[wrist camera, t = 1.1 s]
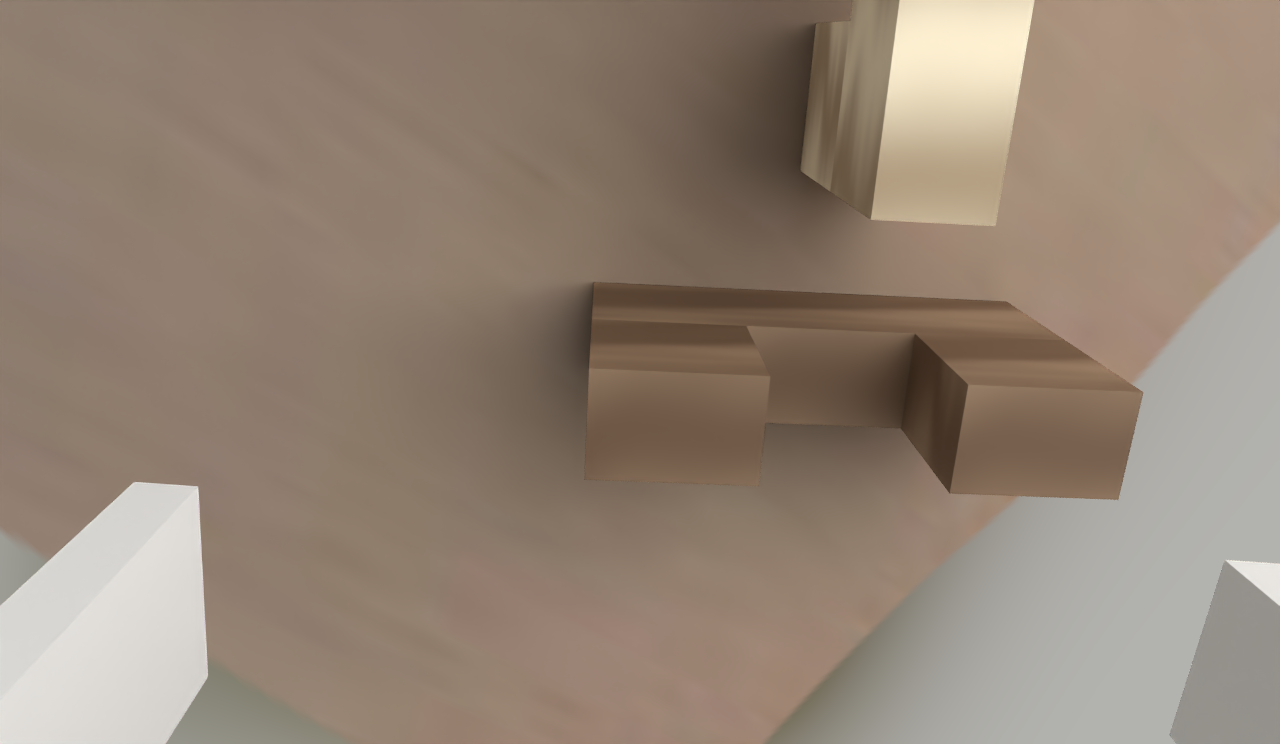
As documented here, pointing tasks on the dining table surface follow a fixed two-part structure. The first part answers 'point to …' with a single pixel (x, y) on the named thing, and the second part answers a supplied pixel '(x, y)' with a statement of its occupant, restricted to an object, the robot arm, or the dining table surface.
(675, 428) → the slotted base
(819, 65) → the cross plate
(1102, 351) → the dining table surface
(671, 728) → the dining table surface
